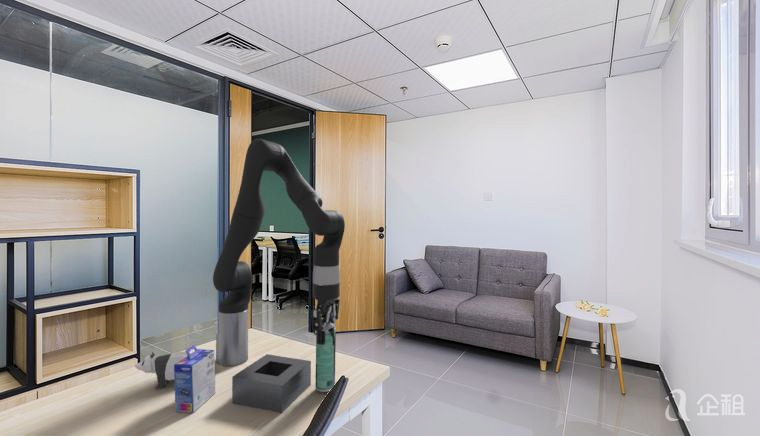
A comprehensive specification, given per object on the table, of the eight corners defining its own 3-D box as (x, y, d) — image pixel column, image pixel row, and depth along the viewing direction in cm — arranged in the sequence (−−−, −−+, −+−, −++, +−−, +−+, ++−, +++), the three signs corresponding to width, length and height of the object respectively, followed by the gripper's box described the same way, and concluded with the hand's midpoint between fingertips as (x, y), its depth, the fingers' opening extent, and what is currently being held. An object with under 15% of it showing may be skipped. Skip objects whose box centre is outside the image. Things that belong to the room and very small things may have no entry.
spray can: (338, 384, 100) (339, 315, 99) (329, 393, 94) (330, 321, 94) (321, 380, 101) (322, 313, 101) (311, 389, 96) (312, 318, 96)
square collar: (232, 402, 91) (232, 376, 91) (266, 376, 105) (266, 354, 105) (281, 413, 86) (282, 385, 86) (310, 384, 101) (310, 360, 101)
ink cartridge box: (197, 391, 96) (197, 340, 96) (216, 392, 96) (216, 341, 96) (172, 412, 86) (172, 354, 86) (193, 413, 86) (193, 356, 86)
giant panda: (195, 376, 105) (195, 345, 105) (192, 384, 100) (192, 352, 100) (138, 384, 100) (138, 351, 100) (132, 393, 95) (132, 359, 95)
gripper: (325, 275, 105) (324, 330, 106) (301, 285, 91) (301, 348, 92) (348, 277, 103) (347, 333, 103) (327, 287, 89) (326, 351, 90)
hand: (325, 340), depth 98 cm, fingers closed on spray can, 5 cm apart
